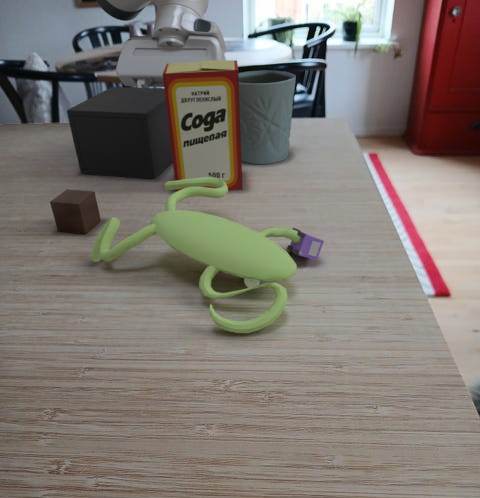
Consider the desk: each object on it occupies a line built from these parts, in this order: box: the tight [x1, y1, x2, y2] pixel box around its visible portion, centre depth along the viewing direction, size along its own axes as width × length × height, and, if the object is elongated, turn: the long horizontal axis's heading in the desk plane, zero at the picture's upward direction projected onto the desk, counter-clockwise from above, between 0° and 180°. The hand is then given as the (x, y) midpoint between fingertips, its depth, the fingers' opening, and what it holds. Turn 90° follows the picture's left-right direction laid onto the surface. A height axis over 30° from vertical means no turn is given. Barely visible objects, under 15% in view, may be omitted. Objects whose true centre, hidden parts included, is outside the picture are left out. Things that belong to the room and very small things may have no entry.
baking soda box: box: [163, 59, 243, 192], centre depth 71 cm, size 10×6×16 cm
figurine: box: [90, 177, 325, 334], centre depth 56 cm, size 18×27×6 cm
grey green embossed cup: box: [239, 69, 297, 165], centre depth 81 cm, size 10×10×12 cm
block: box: [49, 188, 101, 235], centre depth 65 cm, size 4×4×4 cm
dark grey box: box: [66, 86, 173, 180], centre depth 82 cm, size 15×13×10 cm
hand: (163, 106), depth 92 cm, fingers closed on basket, 6 cm apart
